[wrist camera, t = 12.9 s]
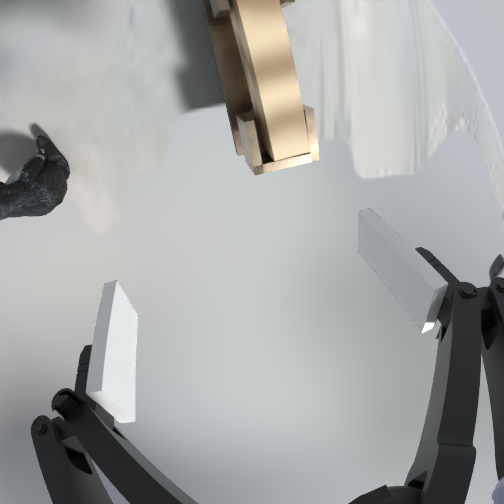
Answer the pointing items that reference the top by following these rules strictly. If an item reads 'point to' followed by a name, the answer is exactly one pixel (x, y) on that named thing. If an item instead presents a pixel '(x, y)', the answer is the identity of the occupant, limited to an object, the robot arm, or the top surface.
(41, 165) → the figurine
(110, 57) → the top surface
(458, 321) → the robot arm
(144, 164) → the top surface
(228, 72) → the bracket
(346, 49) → the top surface
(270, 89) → the rail
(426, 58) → the top surface
